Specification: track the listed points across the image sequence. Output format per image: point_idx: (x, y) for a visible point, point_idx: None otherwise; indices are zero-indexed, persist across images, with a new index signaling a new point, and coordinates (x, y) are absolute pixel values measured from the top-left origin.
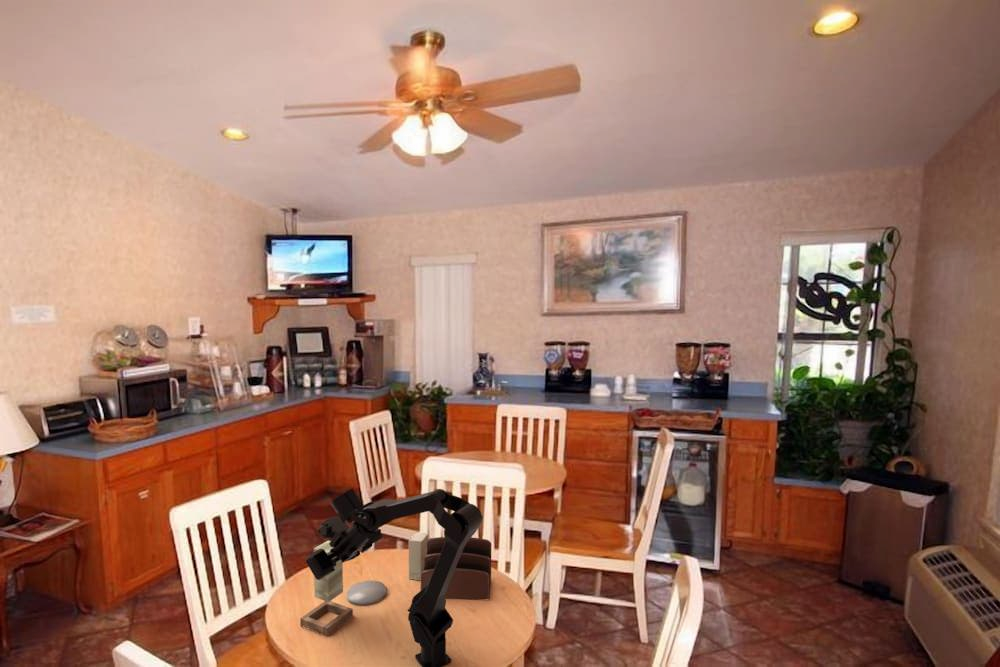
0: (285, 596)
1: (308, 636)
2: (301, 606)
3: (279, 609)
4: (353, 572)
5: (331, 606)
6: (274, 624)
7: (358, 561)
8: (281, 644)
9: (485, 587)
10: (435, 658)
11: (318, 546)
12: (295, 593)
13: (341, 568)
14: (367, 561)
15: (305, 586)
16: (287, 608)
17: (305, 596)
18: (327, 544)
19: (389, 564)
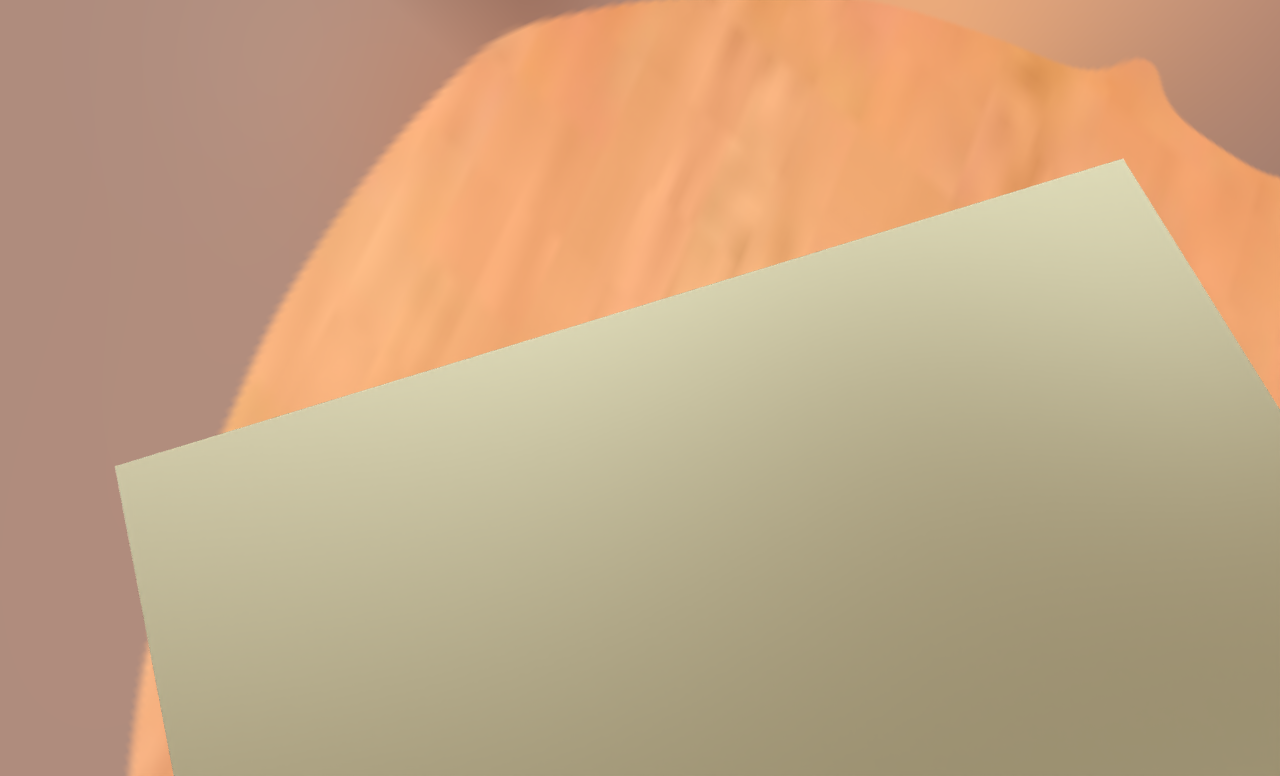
0: (475, 116)
1: None
2: (508, 307)
3: (368, 233)
4: (972, 170)
5: None
6: (246, 388)
7: (1044, 76)
8: (145, 699)
9: None
10: None
11: (477, 424)
12: (545, 130)
13: None
14: (1096, 116)
15: (636, 100)
16: (418, 261)
17: (585, 210)
18: (992, 555)
19: (1219, 252)
